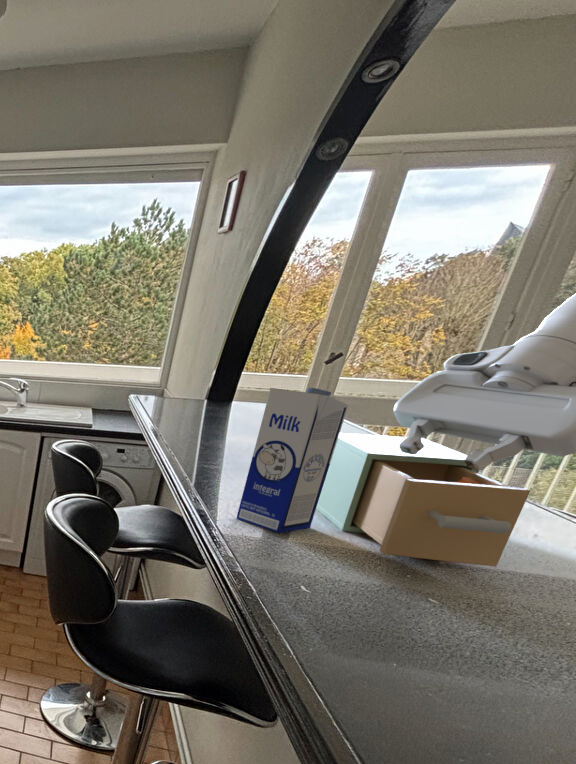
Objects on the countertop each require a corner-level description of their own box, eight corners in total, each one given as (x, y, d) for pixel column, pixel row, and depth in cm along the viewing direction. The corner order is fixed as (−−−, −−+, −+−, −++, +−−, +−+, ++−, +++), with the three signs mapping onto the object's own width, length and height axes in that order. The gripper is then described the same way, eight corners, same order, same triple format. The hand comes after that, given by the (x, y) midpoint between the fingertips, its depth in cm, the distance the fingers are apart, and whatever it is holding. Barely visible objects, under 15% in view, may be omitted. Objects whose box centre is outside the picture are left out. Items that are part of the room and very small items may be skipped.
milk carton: (234, 518, 91) (269, 385, 84) (265, 513, 93) (301, 384, 86) (279, 533, 85) (321, 392, 77) (311, 528, 87) (354, 390, 80)
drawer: (518, 580, 69) (556, 501, 65) (398, 566, 72) (428, 490, 68) (434, 527, 85) (460, 461, 81) (339, 518, 88) (361, 454, 85)
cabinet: (449, 542, 82) (483, 461, 78) (341, 530, 86) (367, 453, 82) (397, 508, 96) (423, 438, 91) (306, 500, 100) (326, 432, 95)
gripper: (652, 410, 65) (541, 497, 68) (454, 386, 84) (372, 455, 87) (640, 369, 63) (525, 461, 65) (439, 354, 82) (355, 426, 84)
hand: (437, 457), depth 76 cm, fingers open, 7 cm apart
